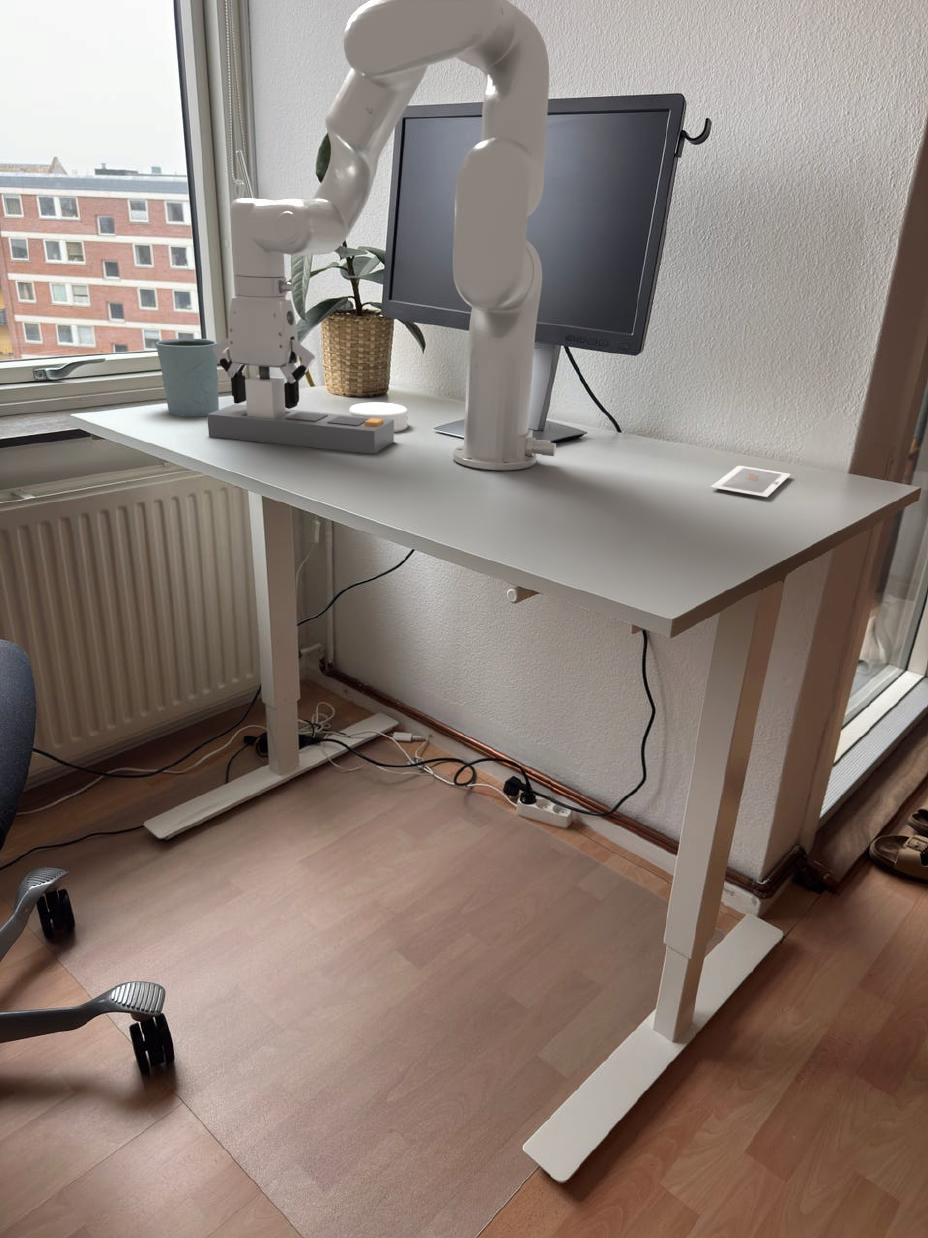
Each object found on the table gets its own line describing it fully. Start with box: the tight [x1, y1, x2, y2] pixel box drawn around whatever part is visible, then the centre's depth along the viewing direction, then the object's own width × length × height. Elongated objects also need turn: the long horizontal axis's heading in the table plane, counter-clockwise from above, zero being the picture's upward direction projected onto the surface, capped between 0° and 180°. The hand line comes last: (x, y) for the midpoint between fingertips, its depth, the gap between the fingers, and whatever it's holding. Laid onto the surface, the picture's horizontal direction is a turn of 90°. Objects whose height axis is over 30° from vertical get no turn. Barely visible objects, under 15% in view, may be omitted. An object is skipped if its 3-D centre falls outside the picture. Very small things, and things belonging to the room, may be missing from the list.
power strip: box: [206, 403, 395, 455], centre depth 141 cm, size 28×9×4 cm, turn 75°
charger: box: [245, 366, 286, 419], centre depth 141 cm, size 4×4×11 cm
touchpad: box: [710, 465, 792, 498], centre depth 127 cm, size 8×15×2 cm, turn 149°
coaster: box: [349, 401, 409, 433], centre depth 152 cm, size 10×10×4 cm
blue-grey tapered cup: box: [155, 338, 220, 418], centre depth 155 cm, size 10×10×12 cm
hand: (265, 404), depth 141 cm, fingers open, 8 cm apart
